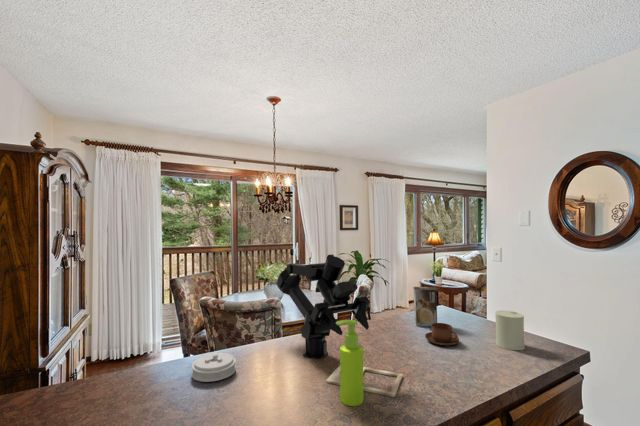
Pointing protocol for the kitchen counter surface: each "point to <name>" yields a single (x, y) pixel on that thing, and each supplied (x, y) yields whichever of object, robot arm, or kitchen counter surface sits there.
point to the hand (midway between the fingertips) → (355, 331)
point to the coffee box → (425, 306)
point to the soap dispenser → (351, 367)
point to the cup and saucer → (442, 334)
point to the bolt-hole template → (336, 380)
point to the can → (510, 330)
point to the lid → (213, 367)
